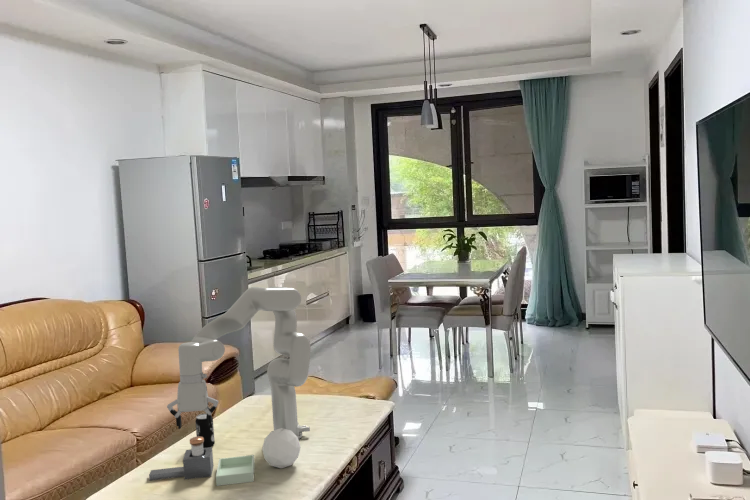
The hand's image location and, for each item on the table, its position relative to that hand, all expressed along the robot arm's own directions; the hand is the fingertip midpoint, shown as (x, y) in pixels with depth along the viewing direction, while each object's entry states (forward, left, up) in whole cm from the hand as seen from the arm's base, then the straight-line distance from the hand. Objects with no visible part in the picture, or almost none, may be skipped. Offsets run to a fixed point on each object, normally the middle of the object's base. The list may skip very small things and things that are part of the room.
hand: (194, 426), depth 230 cm
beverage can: (0, -25, -17) cm, 31 cm away
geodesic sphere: (-29, +2, -17) cm, 34 cm away
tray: (-13, +5, -17) cm, 22 cm away
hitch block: (+6, 0, -17) cm, 18 cm away
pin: (0, 0, -17) cm, 17 cm away
